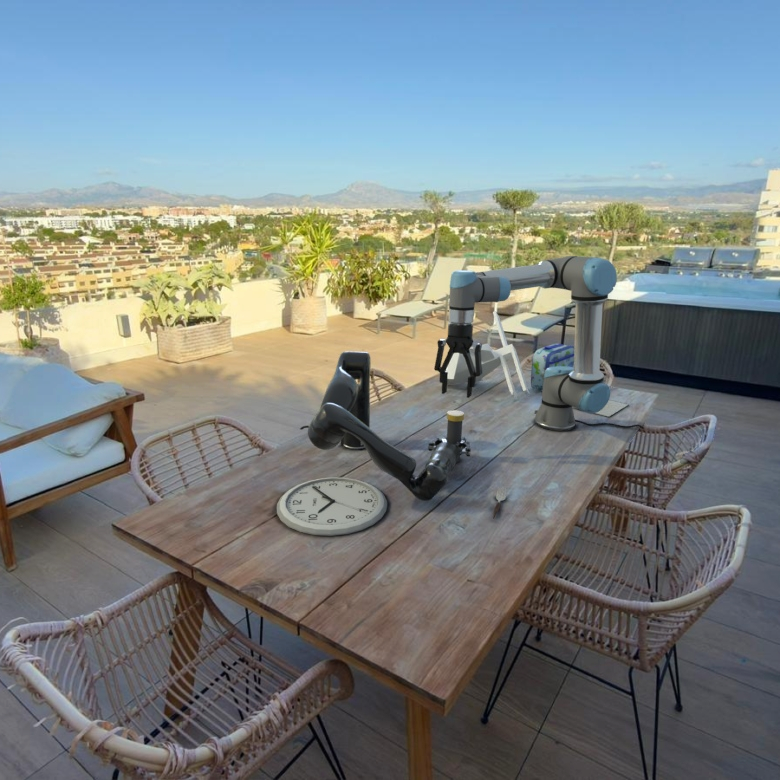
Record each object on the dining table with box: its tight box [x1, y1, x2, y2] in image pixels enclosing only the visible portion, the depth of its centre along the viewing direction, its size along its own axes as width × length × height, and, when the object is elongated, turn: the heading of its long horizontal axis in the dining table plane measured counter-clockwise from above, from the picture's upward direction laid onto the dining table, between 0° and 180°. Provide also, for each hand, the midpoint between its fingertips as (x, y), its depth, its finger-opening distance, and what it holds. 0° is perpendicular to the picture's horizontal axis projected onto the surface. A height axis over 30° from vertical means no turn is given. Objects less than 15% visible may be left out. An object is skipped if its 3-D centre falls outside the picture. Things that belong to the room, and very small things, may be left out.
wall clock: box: [276, 476, 388, 537], centre depth 142 cm, size 30×2×30 cm
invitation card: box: [573, 399, 629, 418], centre depth 226 cm, size 21×1×15 cm
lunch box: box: [530, 343, 574, 391], centre depth 249 cm, size 26×11×21 cm, turn 134°
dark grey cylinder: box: [446, 419, 463, 464], centre depth 170 cm, size 5×5×16 cm
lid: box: [446, 409, 465, 422], centre depth 167 cm, size 5×5×2 cm
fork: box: [492, 486, 508, 519], centre depth 143 cm, size 3×16×2 cm, turn 160°
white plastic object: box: [445, 310, 531, 400], centre depth 245 cm, size 37×45×31 cm
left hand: (455, 438), depth 173 cm, fingers closed on dark grey cylinder, 4 cm apart
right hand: (456, 394), depth 165 cm, fingers open, 7 cm apart
